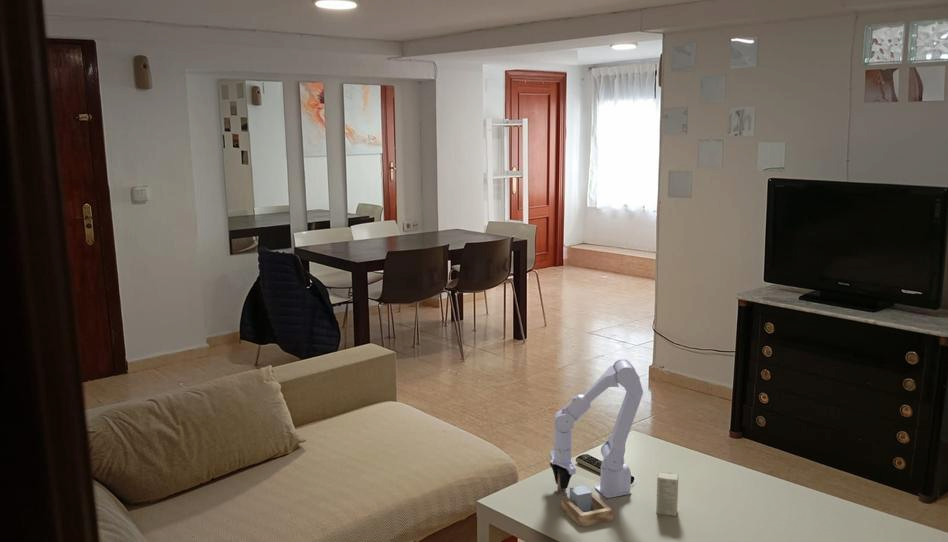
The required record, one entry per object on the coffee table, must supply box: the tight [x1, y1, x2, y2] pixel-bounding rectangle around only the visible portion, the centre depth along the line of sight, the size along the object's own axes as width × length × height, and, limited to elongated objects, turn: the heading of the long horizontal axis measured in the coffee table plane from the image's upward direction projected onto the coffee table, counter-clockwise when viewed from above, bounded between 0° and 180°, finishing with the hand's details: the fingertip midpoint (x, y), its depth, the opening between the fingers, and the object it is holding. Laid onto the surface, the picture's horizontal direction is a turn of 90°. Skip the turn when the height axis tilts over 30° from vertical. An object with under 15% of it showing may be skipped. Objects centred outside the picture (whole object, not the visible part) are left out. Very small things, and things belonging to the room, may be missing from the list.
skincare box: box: [655, 471, 679, 517], centre depth 237 cm, size 6×4×12 cm
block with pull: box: [556, 474, 593, 513], centre depth 245 cm, size 5×16×6 cm, turn 21°
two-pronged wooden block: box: [560, 491, 614, 527], centre depth 236 cm, size 11×13×4 cm
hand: (561, 485), depth 252 cm, fingers open, 3 cm apart
